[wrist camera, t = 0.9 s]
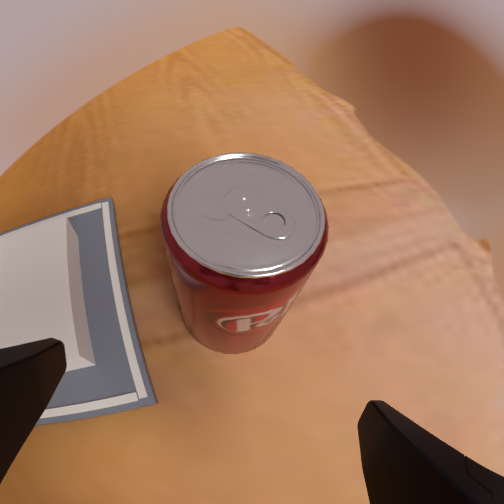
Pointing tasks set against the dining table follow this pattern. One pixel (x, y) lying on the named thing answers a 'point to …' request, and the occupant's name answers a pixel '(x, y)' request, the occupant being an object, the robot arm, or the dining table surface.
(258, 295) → the soda can
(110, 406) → the base
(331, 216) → the dining table surface
